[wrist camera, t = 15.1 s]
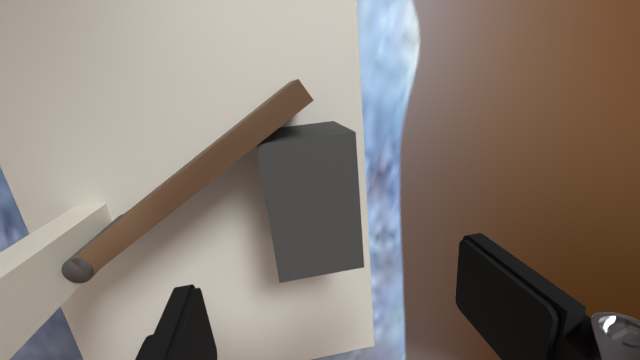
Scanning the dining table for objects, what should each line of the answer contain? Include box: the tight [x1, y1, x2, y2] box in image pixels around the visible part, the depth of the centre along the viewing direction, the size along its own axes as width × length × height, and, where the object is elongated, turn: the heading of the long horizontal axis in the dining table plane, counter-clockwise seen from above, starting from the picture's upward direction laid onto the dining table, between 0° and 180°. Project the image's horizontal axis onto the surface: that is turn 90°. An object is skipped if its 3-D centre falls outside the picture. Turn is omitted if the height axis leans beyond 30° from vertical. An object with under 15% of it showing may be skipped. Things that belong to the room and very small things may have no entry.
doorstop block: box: [257, 121, 364, 283], centre depth 19 cm, size 8×5×6 cm, turn 6°
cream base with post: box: [0, 0, 374, 360], centre depth 15 cm, size 30×22×15 cm
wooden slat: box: [61, 79, 314, 283], centre depth 17 cm, size 1×15×6 cm, turn 127°
